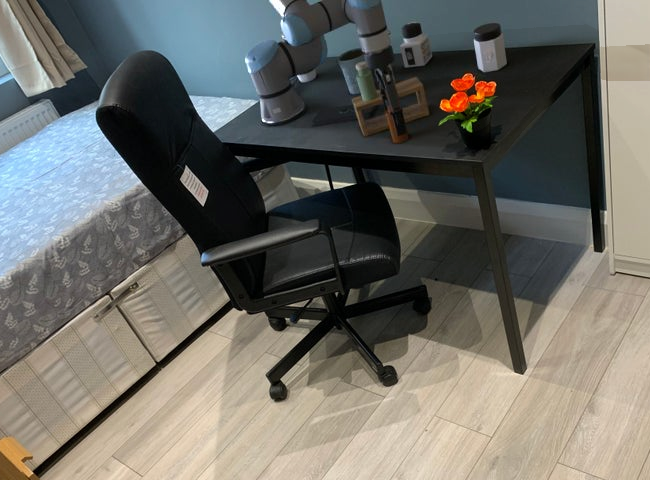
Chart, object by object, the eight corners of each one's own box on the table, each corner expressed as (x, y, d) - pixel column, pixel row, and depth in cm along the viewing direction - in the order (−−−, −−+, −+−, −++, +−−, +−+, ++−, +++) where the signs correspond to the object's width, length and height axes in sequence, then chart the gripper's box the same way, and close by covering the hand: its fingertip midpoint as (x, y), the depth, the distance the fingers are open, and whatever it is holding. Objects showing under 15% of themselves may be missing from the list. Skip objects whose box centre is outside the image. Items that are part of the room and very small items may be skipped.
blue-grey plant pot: (372, 79, 218) (363, 45, 211) (379, 88, 210) (370, 52, 203) (345, 89, 218) (335, 55, 211) (350, 98, 210) (340, 63, 203)
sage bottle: (361, 97, 183) (352, 64, 177) (376, 92, 183) (366, 58, 177) (364, 102, 180) (354, 68, 174) (378, 97, 179) (369, 63, 173)
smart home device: (370, 111, 192) (311, 121, 199) (371, 117, 193) (312, 126, 200) (376, 100, 198) (318, 109, 205) (377, 105, 199) (320, 114, 206)
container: (424, 65, 215) (416, 27, 207) (404, 67, 219) (395, 30, 211) (432, 56, 220) (425, 18, 212) (412, 58, 223) (404, 21, 216)
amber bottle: (391, 138, 178) (380, 98, 170) (406, 133, 178) (396, 93, 170) (394, 144, 174) (383, 104, 167) (410, 139, 174) (400, 98, 167)
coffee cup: (296, 77, 243) (285, 46, 236) (323, 70, 241) (313, 38, 234) (292, 87, 235) (281, 56, 227) (320, 80, 232) (310, 48, 225)
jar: (476, 74, 197) (470, 35, 190) (480, 63, 203) (474, 26, 195) (505, 69, 193) (500, 30, 186) (508, 59, 199) (503, 20, 192)
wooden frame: (359, 126, 190) (351, 98, 185) (422, 105, 190) (416, 76, 184) (364, 136, 184) (355, 107, 178) (429, 114, 183) (422, 85, 178)
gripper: (401, 57, 150) (420, 137, 163) (381, 32, 170) (400, 105, 183) (372, 67, 151) (393, 147, 163) (355, 41, 170) (375, 113, 183)
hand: (397, 125), depth 173 cm, fingers open, 13 cm apart
